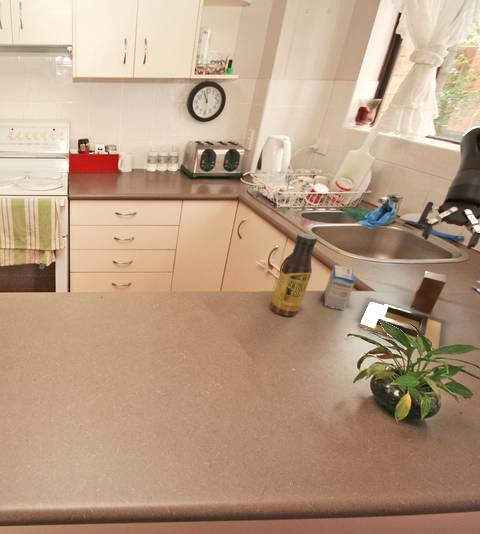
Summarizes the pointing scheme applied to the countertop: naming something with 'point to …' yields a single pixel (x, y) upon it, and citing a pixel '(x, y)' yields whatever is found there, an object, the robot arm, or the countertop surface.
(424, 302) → the pad block
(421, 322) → the back plate
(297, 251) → the sauce bottle
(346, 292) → the medicine box
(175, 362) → the countertop surface
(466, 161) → the robot arm
